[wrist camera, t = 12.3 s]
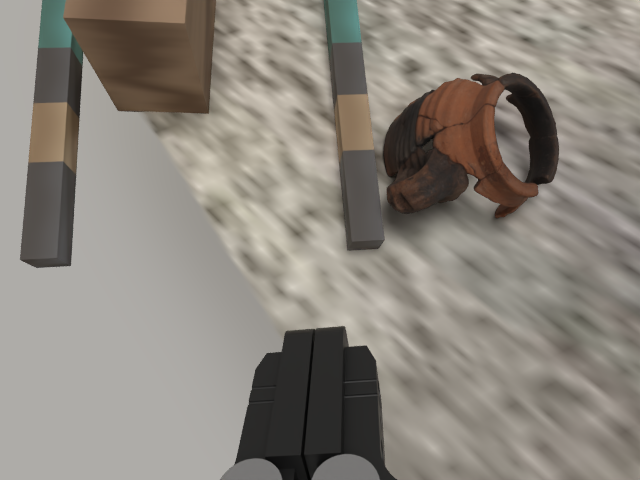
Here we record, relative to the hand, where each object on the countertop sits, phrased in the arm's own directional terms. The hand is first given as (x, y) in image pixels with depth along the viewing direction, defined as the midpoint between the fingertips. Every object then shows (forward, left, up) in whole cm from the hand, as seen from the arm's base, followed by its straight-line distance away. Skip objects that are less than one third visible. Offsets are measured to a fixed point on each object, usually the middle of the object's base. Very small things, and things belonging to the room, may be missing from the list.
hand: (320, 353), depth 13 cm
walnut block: (+7, -26, -18) cm, 32 cm away
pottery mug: (-11, -12, -18) cm, 24 cm away
